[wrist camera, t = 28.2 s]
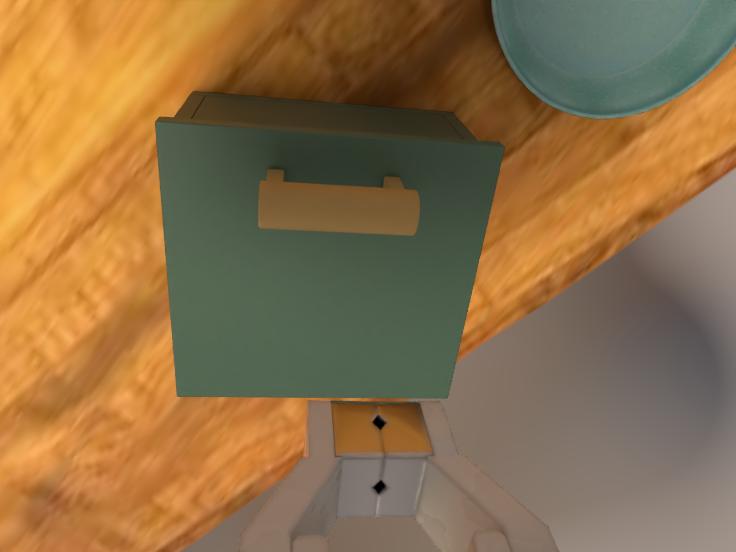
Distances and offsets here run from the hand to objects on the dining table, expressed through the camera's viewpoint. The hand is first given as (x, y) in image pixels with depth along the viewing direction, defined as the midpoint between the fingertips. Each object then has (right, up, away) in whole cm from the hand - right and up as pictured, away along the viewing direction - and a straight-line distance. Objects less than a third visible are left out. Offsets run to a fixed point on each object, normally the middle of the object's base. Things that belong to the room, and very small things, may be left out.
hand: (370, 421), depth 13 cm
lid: (-2, +3, +15) cm, 16 cm away
